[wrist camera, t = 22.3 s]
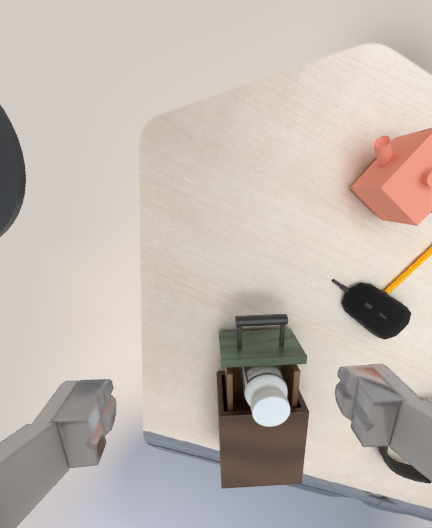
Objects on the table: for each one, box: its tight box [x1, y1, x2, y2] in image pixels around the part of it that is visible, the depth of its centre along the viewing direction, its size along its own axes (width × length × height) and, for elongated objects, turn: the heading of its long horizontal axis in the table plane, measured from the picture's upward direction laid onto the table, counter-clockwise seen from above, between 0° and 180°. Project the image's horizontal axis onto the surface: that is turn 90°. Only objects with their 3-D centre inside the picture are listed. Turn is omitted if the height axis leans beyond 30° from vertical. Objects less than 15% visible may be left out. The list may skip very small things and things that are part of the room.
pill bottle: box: [240, 365, 290, 427], centre depth 34 cm, size 6×6×10 cm
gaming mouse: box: [332, 279, 411, 339], centre depth 37 cm, size 6×15×4 cm, turn 56°
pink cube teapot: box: [350, 128, 432, 225], centre depth 29 cm, size 8×12×8 cm, turn 51°
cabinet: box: [217, 372, 309, 488], centre depth 40 cm, size 15×13×9 cm
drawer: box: [219, 314, 307, 412], centre depth 36 cm, size 18×11×7 cm, turn 2°
